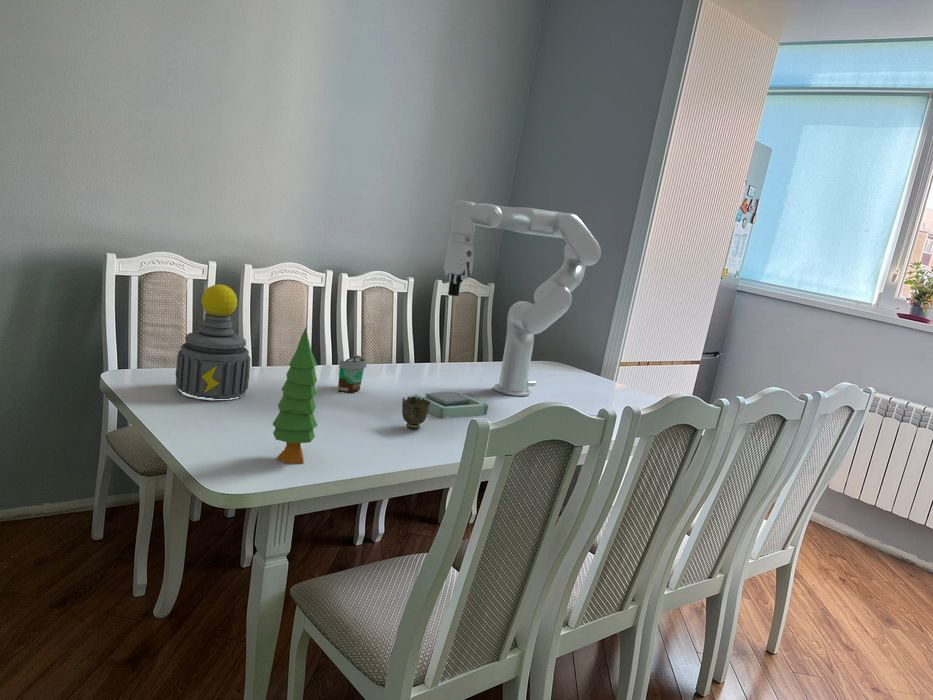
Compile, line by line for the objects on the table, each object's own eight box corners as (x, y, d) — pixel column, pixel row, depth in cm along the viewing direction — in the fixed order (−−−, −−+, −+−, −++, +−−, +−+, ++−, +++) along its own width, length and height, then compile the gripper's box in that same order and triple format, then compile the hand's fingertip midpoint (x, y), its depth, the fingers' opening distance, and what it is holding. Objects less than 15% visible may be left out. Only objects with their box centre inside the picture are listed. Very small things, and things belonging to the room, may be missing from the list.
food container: (355, 397, 219) (359, 364, 217) (335, 393, 220) (339, 360, 218) (368, 388, 231) (372, 357, 229) (350, 385, 232) (354, 354, 230)
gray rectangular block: (448, 405, 227) (450, 391, 226) (467, 413, 221) (469, 399, 220) (424, 408, 220) (426, 393, 219) (443, 416, 214) (445, 401, 213)
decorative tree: (277, 467, 156) (292, 329, 150) (261, 452, 163) (275, 320, 158) (320, 463, 162) (335, 330, 156) (302, 449, 169) (317, 321, 164)
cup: (412, 422, 202) (416, 394, 201) (431, 430, 198) (436, 402, 196) (393, 426, 196) (396, 397, 195) (412, 434, 192) (417, 405, 191)
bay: (456, 400, 232) (458, 391, 232) (486, 414, 222) (488, 405, 221) (413, 403, 221) (414, 394, 221) (442, 418, 211) (444, 408, 210)
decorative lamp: (248, 386, 214) (257, 284, 208) (246, 404, 196) (257, 293, 190) (178, 380, 208) (187, 275, 203) (170, 399, 191) (179, 285, 185)
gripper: (484, 243, 236) (476, 300, 239) (455, 237, 247) (448, 291, 250) (467, 241, 231) (458, 299, 234) (438, 235, 242) (430, 290, 245)
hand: (453, 295), depth 242 cm, fingers closed
